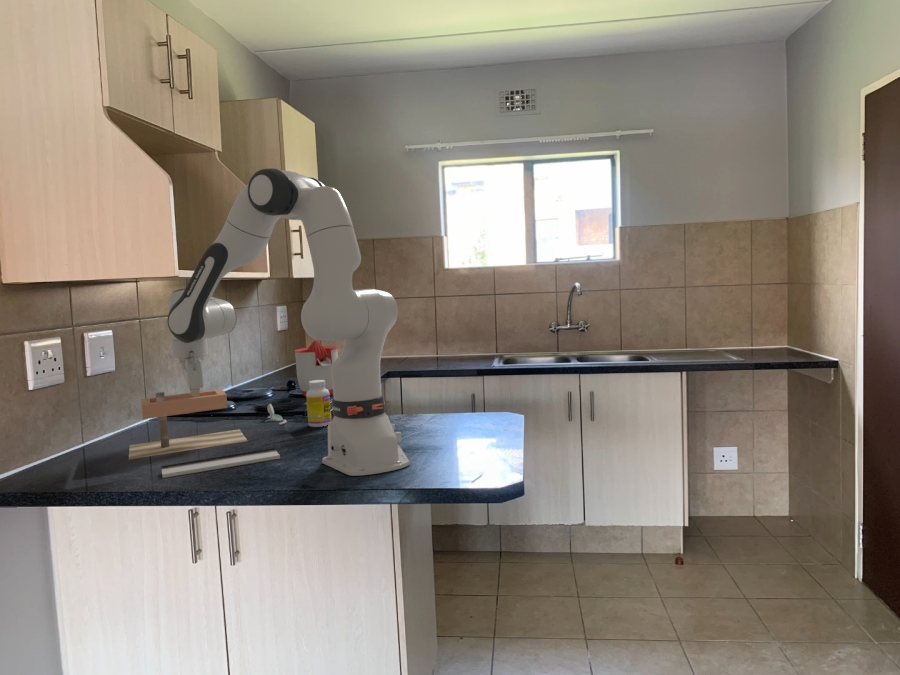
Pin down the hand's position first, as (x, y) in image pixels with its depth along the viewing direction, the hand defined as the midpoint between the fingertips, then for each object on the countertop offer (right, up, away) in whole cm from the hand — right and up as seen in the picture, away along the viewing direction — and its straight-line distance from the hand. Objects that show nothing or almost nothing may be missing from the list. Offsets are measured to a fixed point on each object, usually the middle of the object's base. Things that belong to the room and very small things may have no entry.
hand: (195, 401), depth 181 cm
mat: (+12, -13, -17) cm, 25 cm away
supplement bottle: (+30, -9, +16) cm, 35 cm away
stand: (-1, -12, -4) cm, 13 cm away
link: (-1, -2, -5) cm, 5 cm away
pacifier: (+16, -9, +21) cm, 28 cm away
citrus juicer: (+21, -4, +65) cm, 68 cm away
